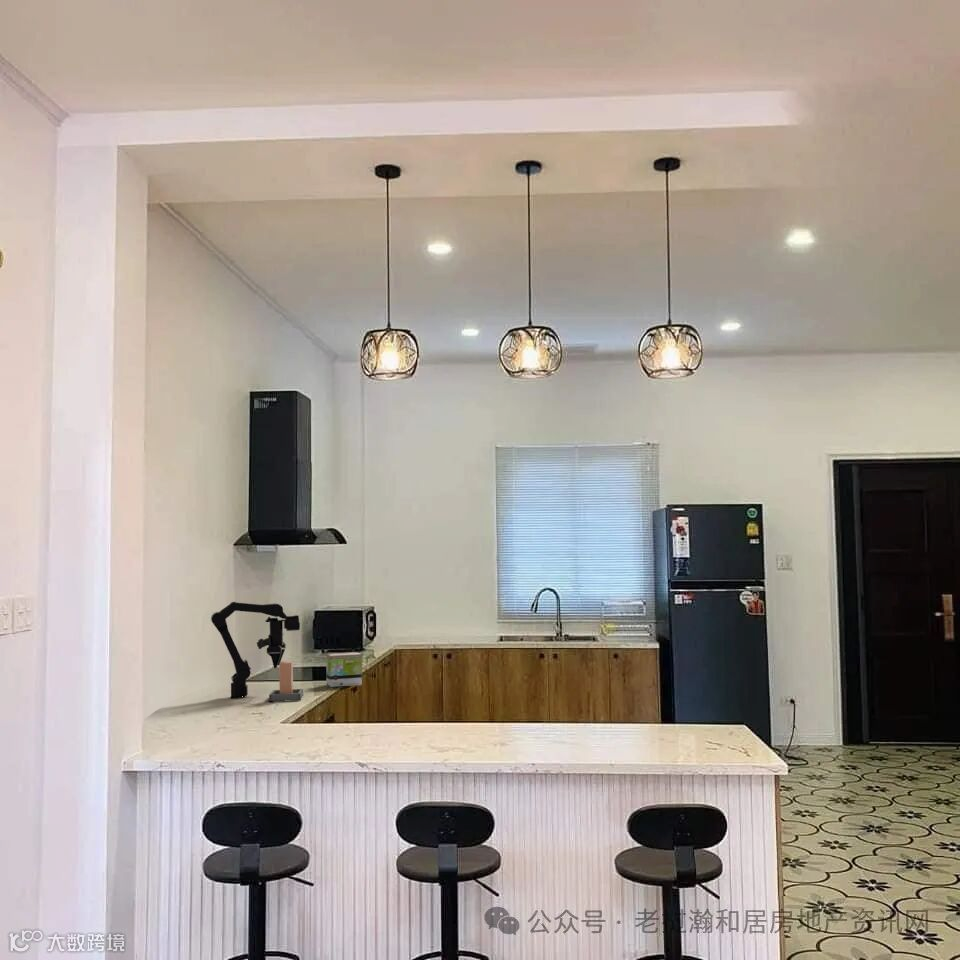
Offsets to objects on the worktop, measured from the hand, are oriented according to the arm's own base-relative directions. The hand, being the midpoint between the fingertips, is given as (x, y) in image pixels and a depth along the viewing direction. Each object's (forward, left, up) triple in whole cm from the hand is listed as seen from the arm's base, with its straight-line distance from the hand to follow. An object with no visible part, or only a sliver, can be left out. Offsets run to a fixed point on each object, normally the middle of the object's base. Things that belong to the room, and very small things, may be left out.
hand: (276, 666), depth 396 cm
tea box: (+29, +18, -12) cm, 36 cm away
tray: (+6, -15, -12) cm, 20 cm away
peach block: (+6, -15, -11) cm, 20 cm away
